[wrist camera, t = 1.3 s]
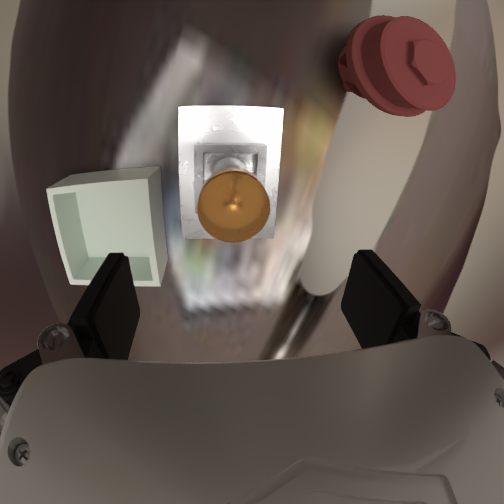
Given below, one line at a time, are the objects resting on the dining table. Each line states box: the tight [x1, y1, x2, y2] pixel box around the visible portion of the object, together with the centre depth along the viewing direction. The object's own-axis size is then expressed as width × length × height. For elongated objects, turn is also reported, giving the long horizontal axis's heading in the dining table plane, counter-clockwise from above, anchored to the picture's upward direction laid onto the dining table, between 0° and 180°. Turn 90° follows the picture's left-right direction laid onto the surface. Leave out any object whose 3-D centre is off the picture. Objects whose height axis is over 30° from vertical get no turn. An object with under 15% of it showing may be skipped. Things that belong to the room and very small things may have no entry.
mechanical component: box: [338, 15, 456, 117], centre depth 18 cm, size 12×10×10 cm
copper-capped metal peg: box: [197, 157, 270, 242], centre depth 22 cm, size 5×5×10 cm
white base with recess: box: [178, 106, 284, 239], centre depth 26 cm, size 14×10×4 cm
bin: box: [47, 166, 168, 286], centre depth 27 cm, size 11×11×6 cm
